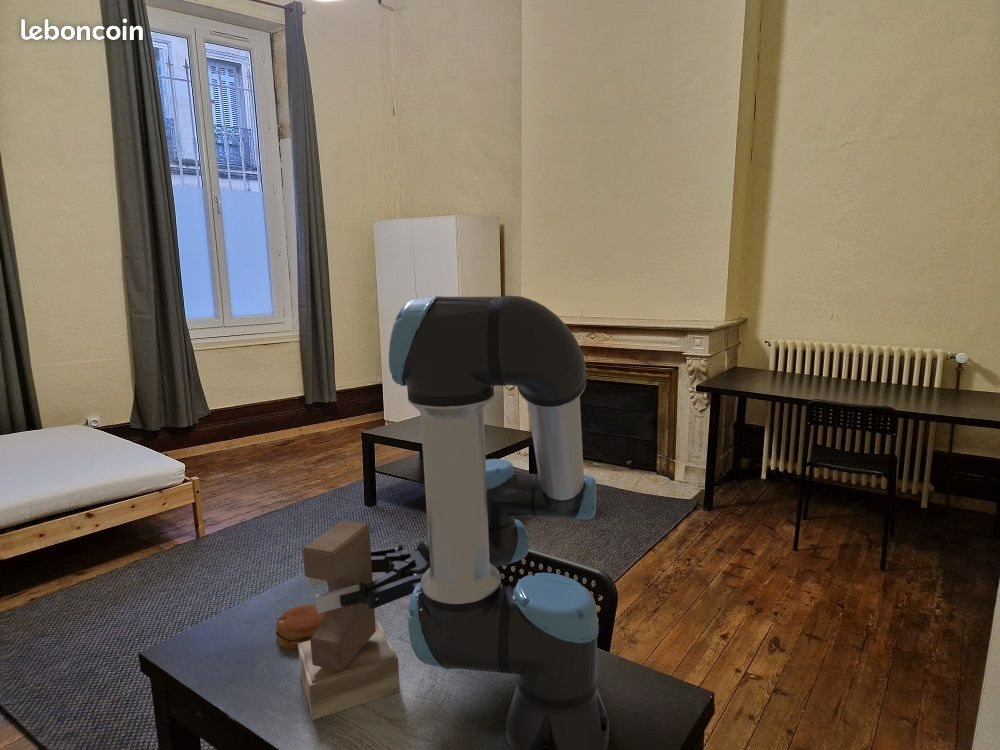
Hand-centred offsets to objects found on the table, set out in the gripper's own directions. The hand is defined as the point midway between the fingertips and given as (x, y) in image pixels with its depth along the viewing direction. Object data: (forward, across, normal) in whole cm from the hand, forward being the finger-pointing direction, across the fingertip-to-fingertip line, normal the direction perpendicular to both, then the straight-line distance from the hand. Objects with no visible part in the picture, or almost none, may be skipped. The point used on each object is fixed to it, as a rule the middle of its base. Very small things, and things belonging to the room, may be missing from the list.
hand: (312, 590), depth 98 cm
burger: (0, +18, -19) cm, 26 cm away
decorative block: (-4, -1, -11) cm, 12 cm away
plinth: (-5, 0, -18) cm, 19 cm away
